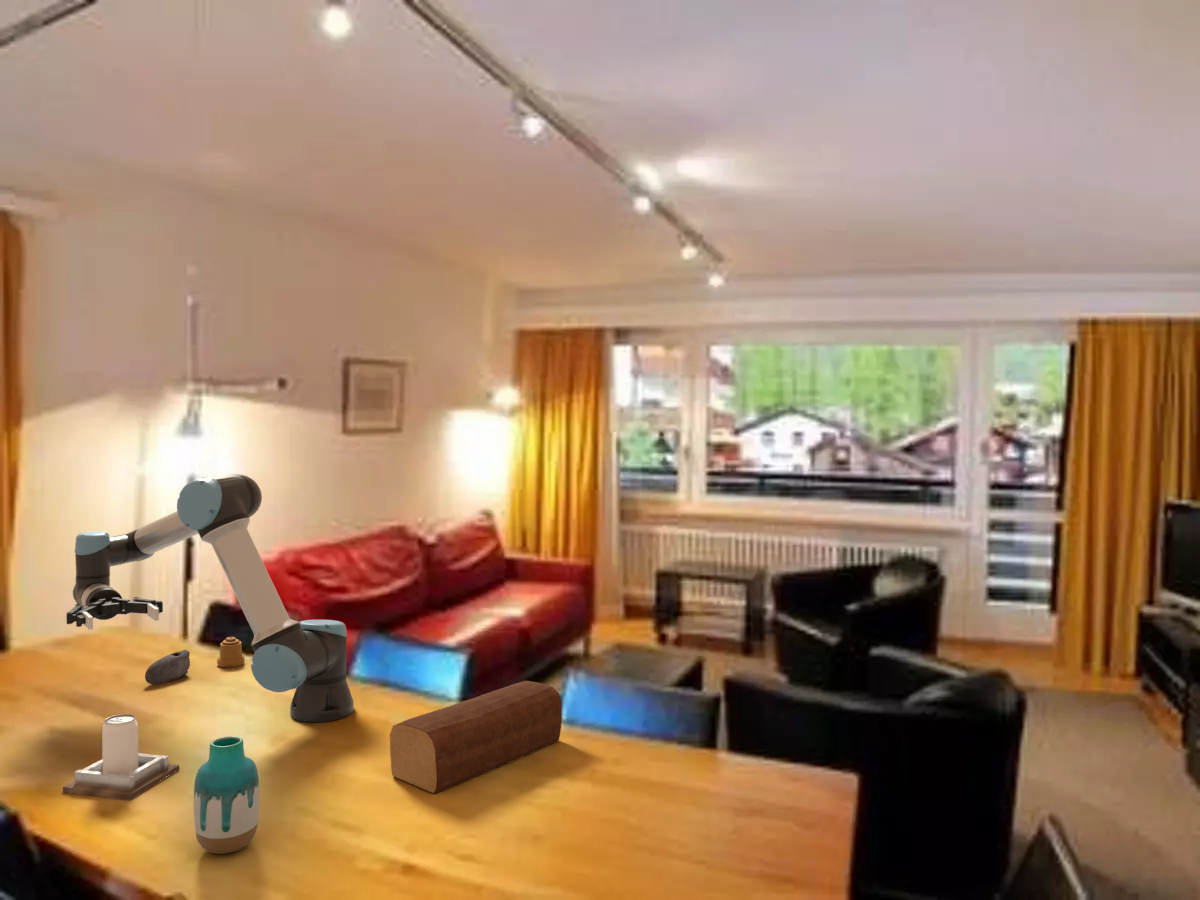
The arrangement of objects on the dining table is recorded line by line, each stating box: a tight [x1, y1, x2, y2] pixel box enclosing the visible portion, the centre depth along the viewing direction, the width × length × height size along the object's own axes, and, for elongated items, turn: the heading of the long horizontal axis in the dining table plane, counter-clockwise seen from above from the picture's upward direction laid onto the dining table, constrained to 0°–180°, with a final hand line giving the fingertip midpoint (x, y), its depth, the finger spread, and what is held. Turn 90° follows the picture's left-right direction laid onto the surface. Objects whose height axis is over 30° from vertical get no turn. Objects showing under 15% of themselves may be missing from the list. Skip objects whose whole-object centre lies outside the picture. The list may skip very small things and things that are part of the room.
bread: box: [389, 680, 563, 795], centre depth 204 cm, size 16×39×13 cm, turn 142°
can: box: [101, 713, 139, 775], centre depth 188 cm, size 6×6×12 cm
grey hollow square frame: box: [74, 752, 169, 791], centre depth 189 cm, size 13×11×2 cm
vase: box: [193, 735, 260, 855], centre depth 161 cm, size 11×11×19 cm
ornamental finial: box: [216, 636, 246, 669], centre depth 269 cm, size 8×8×8 cm
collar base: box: [62, 763, 180, 801], centre depth 189 cm, size 15×15×1 cm
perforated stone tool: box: [144, 649, 191, 685], centre depth 254 cm, size 15×5×7 cm, turn 157°
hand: (124, 619), depth 209 cm, fingers open, 13 cm apart
